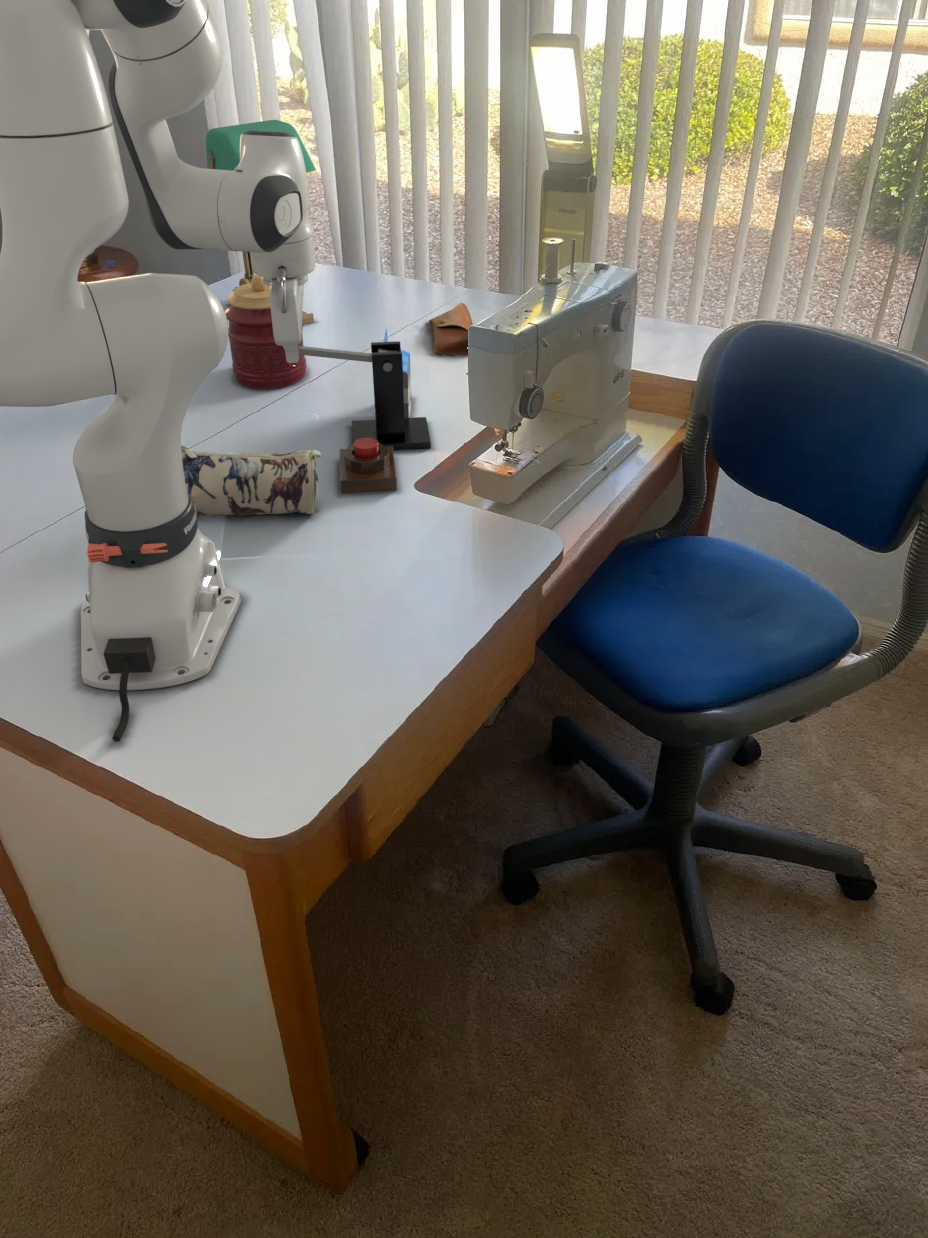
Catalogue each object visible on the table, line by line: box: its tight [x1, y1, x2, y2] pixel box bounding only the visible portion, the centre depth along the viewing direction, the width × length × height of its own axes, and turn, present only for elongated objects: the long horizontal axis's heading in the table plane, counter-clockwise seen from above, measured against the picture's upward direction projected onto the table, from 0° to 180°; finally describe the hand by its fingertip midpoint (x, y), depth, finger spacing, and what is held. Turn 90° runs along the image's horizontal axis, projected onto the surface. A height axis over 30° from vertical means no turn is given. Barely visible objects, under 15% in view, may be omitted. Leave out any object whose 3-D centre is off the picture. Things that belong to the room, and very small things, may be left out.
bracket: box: [351, 340, 432, 452], centre depth 149 cm, size 12×9×15 cm
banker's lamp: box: [205, 119, 317, 326], centre depth 187 cm, size 16×21×35 cm
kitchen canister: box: [224, 274, 308, 390], centre depth 168 cm, size 13×13×18 cm
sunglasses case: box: [428, 302, 474, 356], centre depth 187 cm, size 18×7×7 cm
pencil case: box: [181, 444, 322, 516], centre depth 133 cm, size 22×8×10 cm, turn 90°
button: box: [354, 438, 379, 459], centre depth 141 cm, size 4×4×2 cm
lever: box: [298, 345, 397, 363], centre depth 145 cm, size 16×5×2 cm, turn 97°
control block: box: [339, 443, 398, 495], centre depth 143 cm, size 10×8×4 cm
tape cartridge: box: [383, 328, 412, 418], centre depth 158 cm, size 9×4×12 cm, turn 0°
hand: (293, 352), depth 144 cm, fingers closed on lever, 5 cm apart
